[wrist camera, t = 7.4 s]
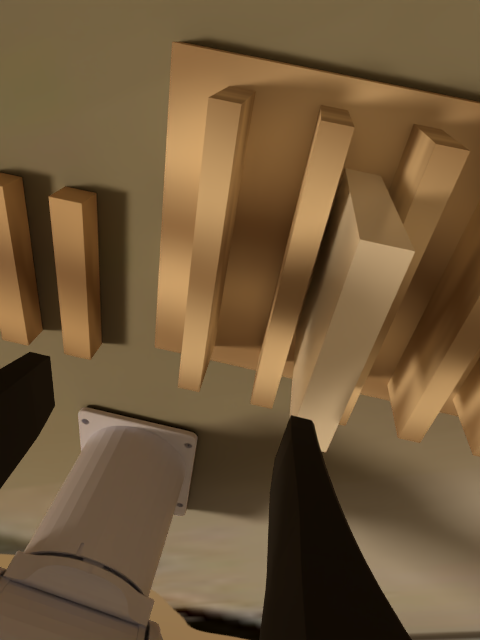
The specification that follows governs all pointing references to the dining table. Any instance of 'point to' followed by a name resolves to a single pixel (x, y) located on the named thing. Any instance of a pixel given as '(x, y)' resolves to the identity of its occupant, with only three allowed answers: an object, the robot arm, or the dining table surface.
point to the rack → (317, 226)
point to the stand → (71, 268)
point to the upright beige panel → (347, 299)
